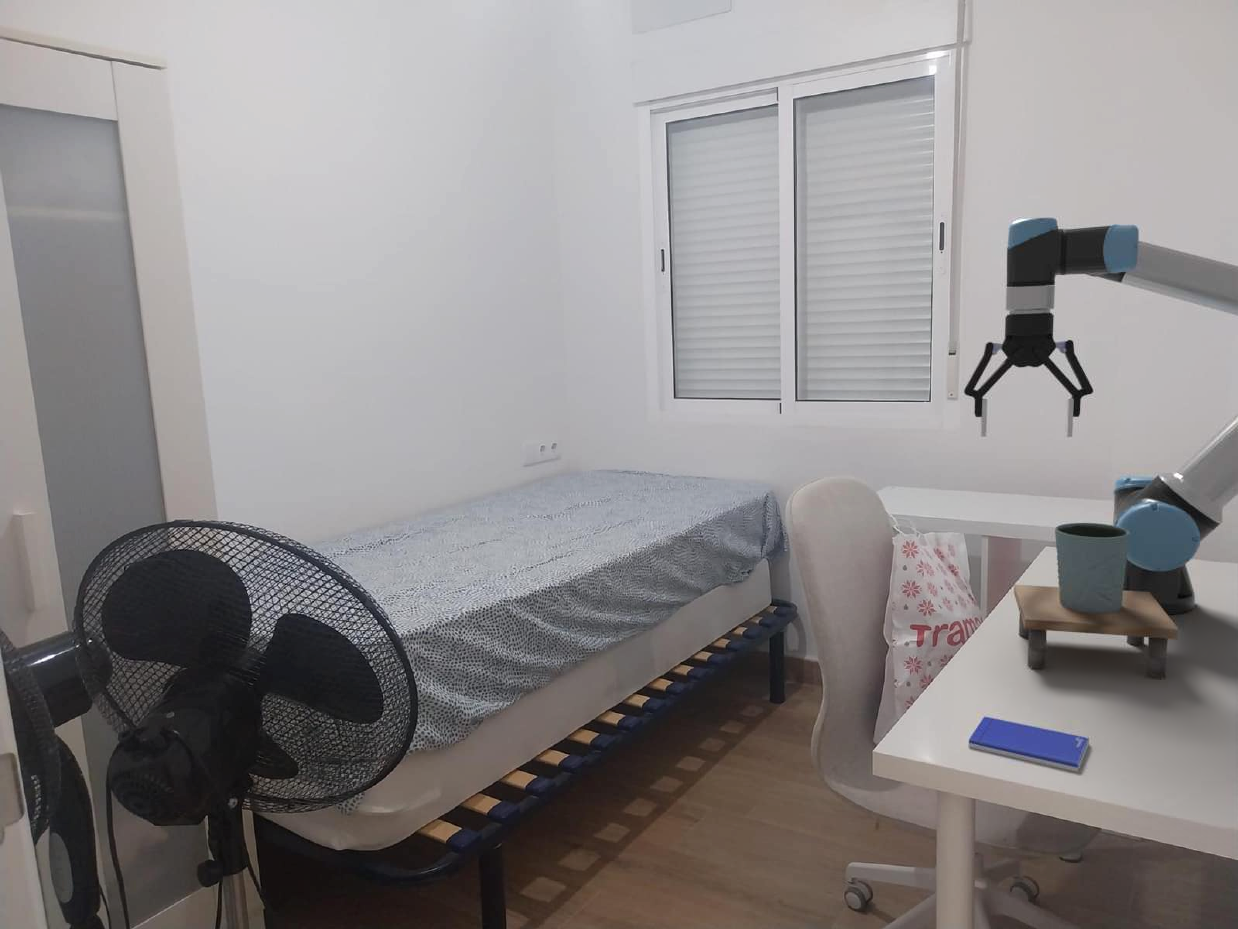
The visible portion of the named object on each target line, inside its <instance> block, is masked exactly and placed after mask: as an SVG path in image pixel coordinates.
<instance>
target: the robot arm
mask: <svg viewBox="0 0 1238 929" xmlns="http://www.w3.org/2000/svg"><path fill="white" fill-rule="evenodd" d="M1007 236H1008V239H1007V247H1006V289H1005V290H1006V294H1005V295H1006V296H1005V310H1006V311H1007V312H1009V314H1006V316H1005V321H1004V322H1005V324H1004V328H1005V329H1004V338H1003V341H1002V343H998V342H992V341H987V342H986V343H985V344H984V351H983V355H982V357H981V359H980V361H979V362H978V364H977V366H976V367H975V370H974V371H973V373H972V375H971V377H969V378H970V379H969V380H968V382H967V384H966V386H965V388H964V389H963V391H964V392H963V393H964V394H965V396H968V397H970V398H971V397H972V398H973V399H974V409H973V410H974V412H973V413H974V416H975V418H980V437H981V438H983V437H987V421H988V420H987V419H988V418H987V417H988V414H987V413H988V398H987V397H985V395H986V394H987V393H988V392H989V391H990V390H991V389H992V387H993V386H994V385H995V384H996V383H997V382H998V381H1000V379H1001V378H1002V377H1003V376H1004V375H1005V374H1006V373H1007V371H1009V369H1011V367H1012V366H1015V367H1016V368H1027V367H1031V368H1039V367H1040V366H1044V367H1045V368H1046V369H1047V370H1048V371H1049V373H1051V374H1052V375H1053V376H1054V378H1055V379H1056V380H1057V381H1058V382H1059V383H1060V384H1061V385H1062V386H1063V387H1064V389H1065V390H1066V391H1067V392H1068V393H1069V395H1071V397H1066V400H1065V401H1066V402H1065V427H1064V429H1065V430H1064V435H1065V437H1067V438H1073V425H1074V423H1073V422H1074V421H1073V420H1074V418H1079V417H1080V415H1081V403H1082V401H1081V399H1082V398H1083V397H1085V396H1088V395H1091V394H1093V393H1094V389H1093V387H1092V385H1091V382H1090V381H1089V379H1088V376H1087V374H1086V372H1085V370H1084V368H1083V367H1082V365H1081V363H1080V361H1079V360H1078V357H1077V356H1076V353H1075V344H1074V340H1071V339H1065V340H1062V341H1055V340H1054V318H1055V317H1054V316H1055V315H1054V314H1053V312H1051V310H1054V308H1055V294H1056V292H1055V291H1056V290H1055V288H1056V287H1055V285H1056V281H1055V280H1056V276H1067V275H1088V276H1090V277H1095V278H1100V279H1104V280H1108V281H1112V282H1115V283H1120V284H1123V285H1126V286H1130V287H1133V288H1137V289H1141V290H1145V291H1147V292H1152V293H1156V294H1158V295H1163V296H1167V297H1171V298H1173V299H1178V300H1181V301H1184V302H1189V303H1190V304H1191V303H1192V304H1195V305H1199V306H1202V307H1206V308H1209V309H1211V310H1212V309H1213V310H1216V311H1219V312H1224V313H1228V314H1231V315H1233V316H1238V265H1235V264H1233V263H1232V264H1231V263H1227V262H1223V261H1219V260H1216V259H1211V258H1208V257H1204V256H1199V255H1196V254H1193V253H1188V252H1184V251H1180V250H1176V249H1173V248H1169V247H1165V246H1162V245H1161V246H1160V245H1157V244H1153V243H1149V242H1145V241H1142V240H1139V237H1140V232H1139V228H1138V226H1137V225H1134V224H1112V225H1103V226H1101V225H1100V226H1090V227H1081V228H1080V227H1079V228H1071V229H1070V228H1069V229H1068V228H1059V225H1058V221H1057V219H1056V218H1055V217H1032V218H1022V219H1018V220H1015V221H1013V222H1012V223H1011V224H1010V225H1009V227H1008V235H1007ZM1056 349H1058V350H1059V352H1060V353H1061V354H1064V356H1065V358H1066V360H1067V362H1068V364H1069V366H1070V368H1071V370H1072V372H1073V374H1074V376H1075V377H1076V379H1077V381H1078V384H1079V385H1080V387H1081V388H1077V387H1076V386H1075V385H1074V384H1073V382H1071V380H1070V379H1069V378H1068V377H1067V376H1066V375H1065V373H1064V372H1062V371H1061V369H1060V368H1059V367H1058V366H1057V365H1056V364H1055V363H1054V361H1053V360H1052V359H1051V358H1050V356H1051V355H1052V354H1053V352H1054V351H1055V350H1056ZM999 351H1001V352H1003V353H1004V355H1005V357H1006V358H1005V360H1004V361H1003V362H1002V363H1001V364H1000V366H999V367H997V369H996V370H995V371H994V372H993V373H991V375H989V377H988V378H987V379H986V380H985V382H984V383H982V385H980V387H979V388H978V389H977V390H976V389H975V388H976V386H977V384H978V383H979V381H980V379H981V378H982V375H983V374H984V372H985V369H987V367H988V365H989V363H990V361H991V359H992V356H995V355H997V354H998V352H999ZM1113 495H1114V499H1113V500H1114V501H1113V516H1112V517H1113V519H1112V520H1113V522H1112V525H1114V526H1118V527H1122V528H1125V529H1127V530H1128V531H1129V532H1130V537H1129V545H1128V551H1127V553H1126V554H1127V559H1126V560H1127V563H1126V570H1125V578H1124V580H1125V581H1124V583H1123V584H1124V589H1123V591H1141V592H1150V593H1151V595H1152V596H1153V597H1154V598H1155V600H1156V601H1157V602H1158V604H1159V605H1160V606H1161V607H1162V609H1163V610H1164V611H1165V613H1166V614H1167V615H1174V614H1175V615H1176V614H1183V613H1188V612H1190V611H1192V610H1193V609H1195V604H1196V603H1195V601H1196V600H1195V599H1196V595H1195V590H1194V587H1193V585H1192V581H1191V578H1190V575H1189V572H1188V568H1187V563H1188V562H1190V561H1191V560H1192V559H1193V557H1194V556H1195V555H1196V553H1197V552H1198V549H1200V546H1201V545H1200V544H1201V542H1202V541H1204V540H1205V538H1207V537H1208V536H1209V535H1210V534H1211V533H1213V532H1214V530H1216V528H1217V527H1219V526H1220V525H1221V524H1222V523H1223V508H1224V507H1225V506H1226V505H1227V504H1229V503H1230V502H1231V501H1232V500H1233V499H1234V498H1235V497H1236V496H1238V413H1237V414H1236V415H1234V417H1233V418H1231V419H1230V420H1229V421H1228V423H1226V424H1225V425H1224V426H1223V427H1222V428H1221V429H1220V430H1219V431H1218V432H1216V434H1214V436H1213V437H1211V439H1209V440H1208V441H1207V442H1206V443H1205V444H1204V445H1203V446H1202V447H1201V448H1200V449H1199V450H1198V451H1196V453H1194V454H1193V456H1191V457H1190V458H1189V459H1188V460H1187V461H1186V462H1185V463H1184V464H1183V465H1182V466H1181V467H1179V468H1178V469H1177V471H1174V472H1161V473H1158V475H1157V476H1155V477H1154V476H1121V477H1118V478H1117V479H1116V481H1115V486H1114V489H1113Z"/></svg>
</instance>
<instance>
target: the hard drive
mask: <svg viewBox="0 0 1238 929" xmlns="http://www.w3.org/2000/svg"><path fill="white" fill-rule="evenodd" d="M1089 745H1090V738H1089V737H1087V736H1081V735H1076V734H1071V733H1065V732H1063V731H1062V732H1060V731H1056V730H1053V729H1052V730H1051V729H1048V728H1042V727H1037V726H1033V725H1027V724H1023V723H1018V722H1012V721H1009V720H1004V719H998V718H994V717H988V716H983V718H982V720H981V721H980V722H979V723H978V725H977V727H976V728H975V730H974V731H973V733H972V734H971V736H970V737H969V739H968V747H969V748H973V749H977V750H982V751H986V752H990V753H994V754H998V755H1003V756H1007V757H1011V758H1016V759H1018V760H1020V759H1021V760H1024V761H1028V762H1032V763H1037V764H1042V765H1046V766H1050V767H1055V768H1059V769H1064V770H1068V771H1072V772H1077V773H1078V772H1079V771H1080V767H1081V765H1082V762H1083V760H1084V758H1085V755H1086V752H1087V751H1088V750H1087V749H1088V747H1089Z"/></svg>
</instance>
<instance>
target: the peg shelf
mask: <svg viewBox="0 0 1238 929" xmlns="http://www.w3.org/2000/svg"><path fill="white" fill-rule="evenodd" d="M1059 590H1060V588H1059V586H1046V585H1045V586H1044V585H1027V584H1026V585H1025V584H1013V594H1014V598H1015V601H1016V605H1017V608H1018V611H1019V621H1018V622H1019V623H1018V625H1019V626H1018V635H1019V636H1020V637H1023V638H1026V637H1029V638H1028V646H1027V667H1028V666H1029V667H1028V668H1030V667H1032V668H1035V669H1034V670H1044V669H1045V668H1046V656H1047V655H1046V654H1047V653H1046V652H1047V631H1051V632H1052V631H1053V632H1065V633H1067V632H1068V633H1077V634H1078V633H1079V634H1081V633H1082V634H1095V635H1096V634H1098V635H1110V636H1111V635H1113V636H1124V637H1126V643H1127V644H1129V645H1131V644H1132V646H1144V644H1145V638H1148V640H1147V642H1148V644H1147V658H1146V663H1147V664H1146V674H1147V675H1146V676H1147V677H1148V676H1149V677H1148V678H1150V677H1151V678H1150V679H1154V678H1159V679H1158V680H1163V679H1162V678H1164V679H1166V675H1167V674H1166V671H1167V660H1168V659H1167V658H1168V657H1167V656H1168V642H1169V640H1170V639H1171V640H1179V628H1178V627H1177V625H1176V624H1175V623H1174V622H1173V620H1172V619H1171V617H1169V614H1166V613H1165V611H1164V610H1163V609H1162V607H1161V606H1160V605H1159V604H1158V602H1157V601H1156V600H1155V598H1154V597H1153V596H1152V595H1151V593H1150V592H1141V591H1123V600H1122V607H1121V609H1120V610H1119V611H1118V612H1114V613H1105V614H1096V613H1085V612H1079V611H1075V610H1071V609H1068V608H1066V607H1064V606H1062V605H1061V603H1060V599H1059ZM1044 667H1045V668H1044ZM1032 668H1031V669H1032ZM1043 668H1044V669H1043Z"/></svg>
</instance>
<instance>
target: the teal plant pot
mask: <svg viewBox="0 0 1238 929" xmlns="http://www.w3.org/2000/svg"><path fill="white" fill-rule="evenodd" d="M1054 534H1055V545H1056V548H1055V549H1056V554H1057V555H1056V560H1057V564H1056V565H1057V574H1058V575H1057V579H1058V587H1059V588H1060V590H1059V599H1060V603H1061V605H1062V606H1064V607H1066V608H1068V609H1071V610H1075V611H1079V612H1085V613H1096V614H1105V613H1114V612H1118V611H1119V610H1120V609H1121V607H1122V600H1123V589H1124V584H1123V583H1124V581H1125V580H1124V578H1125V570H1126V563H1127V560H1126V559H1127V554H1126V553H1127V551H1128V545H1129V537H1130V532H1129V531H1128V530H1127V529H1125V528H1122V527H1118V526H1114V525H1113V524H1107V523H1097V522H1074V523H1073V522H1071V523H1066V524H1065V523H1064V524H1060V525H1057V526H1056V527H1055V528H1054Z"/></svg>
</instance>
